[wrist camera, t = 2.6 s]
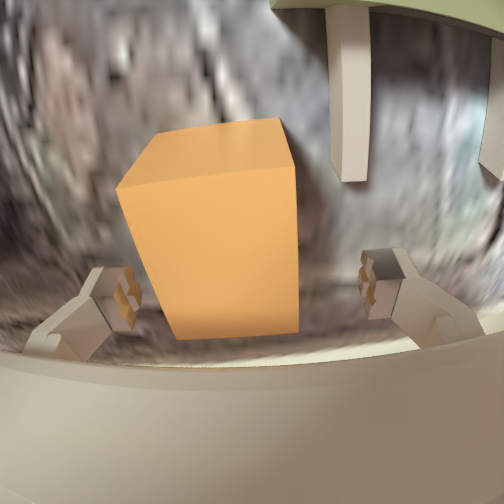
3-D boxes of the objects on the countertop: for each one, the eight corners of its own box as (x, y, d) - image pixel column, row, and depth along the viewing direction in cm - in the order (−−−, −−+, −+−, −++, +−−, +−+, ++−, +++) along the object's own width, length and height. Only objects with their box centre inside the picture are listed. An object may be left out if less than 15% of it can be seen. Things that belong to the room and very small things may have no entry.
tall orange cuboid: (191, 261, 17) (176, 340, 13) (157, 132, 12) (114, 189, 8) (287, 252, 16) (298, 332, 13) (278, 116, 12) (294, 166, 8)
